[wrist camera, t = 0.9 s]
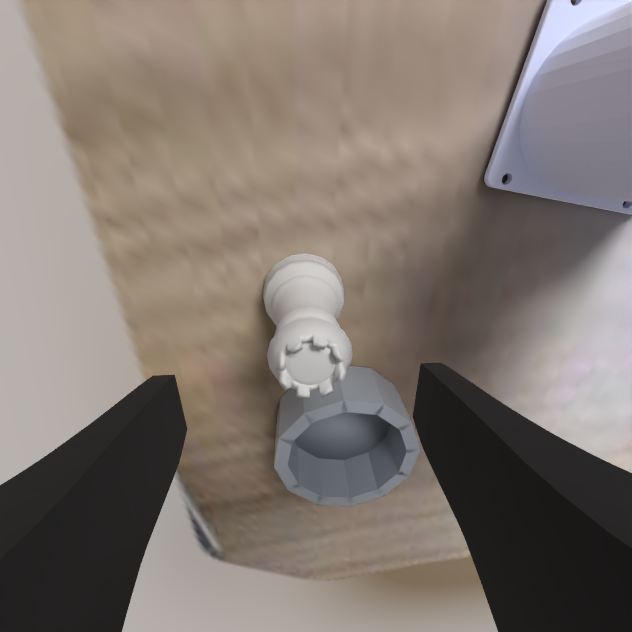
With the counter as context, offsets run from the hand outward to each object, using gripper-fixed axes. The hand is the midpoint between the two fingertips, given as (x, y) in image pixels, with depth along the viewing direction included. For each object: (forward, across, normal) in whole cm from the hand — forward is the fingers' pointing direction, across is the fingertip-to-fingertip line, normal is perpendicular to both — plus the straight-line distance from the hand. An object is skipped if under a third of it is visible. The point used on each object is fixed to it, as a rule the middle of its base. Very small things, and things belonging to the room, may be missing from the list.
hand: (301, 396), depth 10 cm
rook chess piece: (+10, 0, 0) cm, 10 cm away
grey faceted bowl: (+10, -3, +10) cm, 14 cm away
